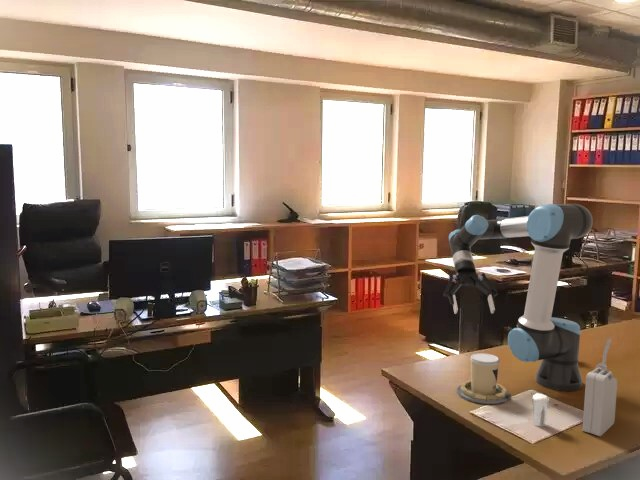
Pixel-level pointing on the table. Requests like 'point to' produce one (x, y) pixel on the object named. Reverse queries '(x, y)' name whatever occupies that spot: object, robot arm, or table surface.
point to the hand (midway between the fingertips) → (474, 311)
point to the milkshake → (539, 409)
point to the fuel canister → (600, 398)
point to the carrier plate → (497, 398)
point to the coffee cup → (484, 373)
